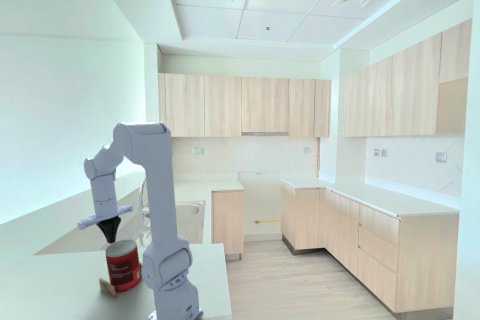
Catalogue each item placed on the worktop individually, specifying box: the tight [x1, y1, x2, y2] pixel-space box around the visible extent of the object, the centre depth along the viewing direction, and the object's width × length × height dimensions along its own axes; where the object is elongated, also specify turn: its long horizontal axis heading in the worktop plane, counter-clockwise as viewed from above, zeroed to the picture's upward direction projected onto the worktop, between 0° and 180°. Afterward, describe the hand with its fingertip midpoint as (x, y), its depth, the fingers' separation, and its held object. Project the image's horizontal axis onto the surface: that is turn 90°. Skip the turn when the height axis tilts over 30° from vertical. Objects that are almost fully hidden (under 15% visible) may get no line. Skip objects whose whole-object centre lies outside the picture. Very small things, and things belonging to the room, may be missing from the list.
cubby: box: [98, 261, 143, 299], centre depth 63 cm, size 7×10×3 cm
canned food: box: [105, 239, 142, 293], centre depth 62 cm, size 8×8×11 cm
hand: (111, 242), depth 66 cm, fingers closed
